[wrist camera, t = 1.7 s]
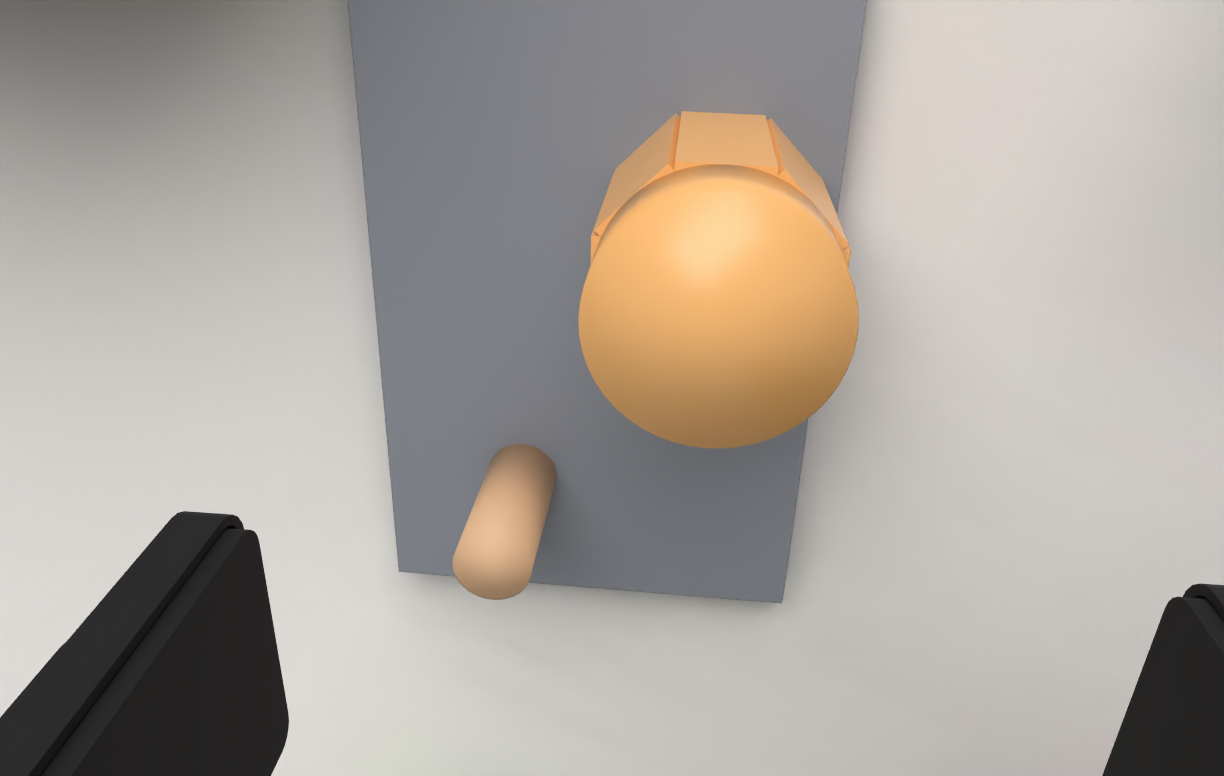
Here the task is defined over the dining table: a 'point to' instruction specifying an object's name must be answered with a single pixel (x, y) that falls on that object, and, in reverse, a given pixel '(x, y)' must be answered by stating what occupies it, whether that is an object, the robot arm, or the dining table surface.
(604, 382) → the orange dome-topped faceted piece
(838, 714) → the dining table surface
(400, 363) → the board
